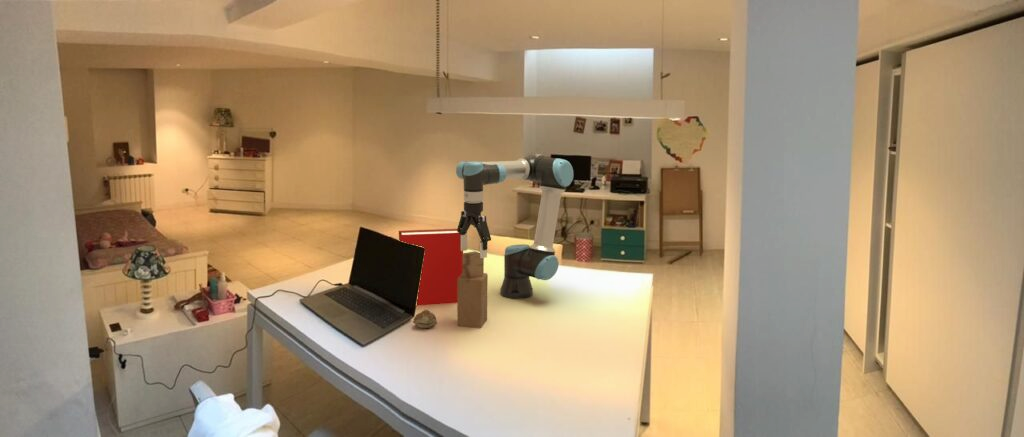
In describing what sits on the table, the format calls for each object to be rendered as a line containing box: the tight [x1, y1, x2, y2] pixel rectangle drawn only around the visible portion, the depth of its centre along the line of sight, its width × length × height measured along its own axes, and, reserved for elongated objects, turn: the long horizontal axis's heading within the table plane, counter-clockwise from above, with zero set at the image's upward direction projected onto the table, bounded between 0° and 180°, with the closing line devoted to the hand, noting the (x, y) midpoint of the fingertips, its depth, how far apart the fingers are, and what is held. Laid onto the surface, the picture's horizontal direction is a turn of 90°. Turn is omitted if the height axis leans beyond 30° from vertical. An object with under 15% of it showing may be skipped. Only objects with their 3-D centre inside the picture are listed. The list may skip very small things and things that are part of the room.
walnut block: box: [463, 250, 485, 279], centre depth 249 cm, size 6×6×9 cm
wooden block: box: [456, 272, 489, 329], centre depth 252 cm, size 10×10×20 cm
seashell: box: [412, 309, 438, 329], centre depth 248 cm, size 9×7×8 cm
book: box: [398, 228, 464, 307], centre depth 275 cm, size 27×8×32 cm, turn 104°
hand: (473, 254), depth 248 cm, fingers open, 13 cm apart
